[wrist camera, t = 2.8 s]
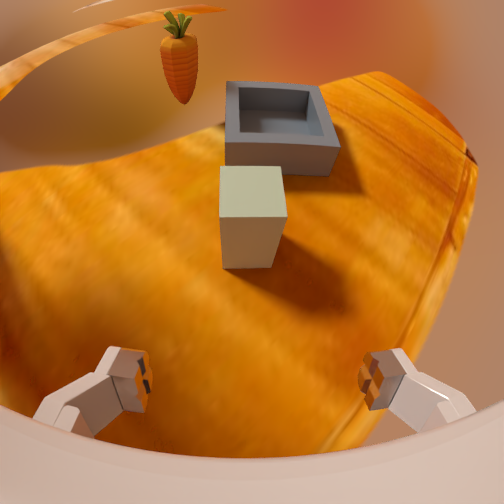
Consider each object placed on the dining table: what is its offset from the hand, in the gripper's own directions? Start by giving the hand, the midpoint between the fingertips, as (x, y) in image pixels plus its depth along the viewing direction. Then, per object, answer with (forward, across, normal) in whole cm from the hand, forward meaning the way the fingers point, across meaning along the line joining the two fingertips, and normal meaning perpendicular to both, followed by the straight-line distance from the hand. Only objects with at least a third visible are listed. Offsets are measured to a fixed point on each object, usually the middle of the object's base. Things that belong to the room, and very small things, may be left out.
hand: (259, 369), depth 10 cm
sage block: (+19, 0, +2) cm, 19 cm away
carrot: (+35, +9, -14) cm, 39 cm away
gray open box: (+30, -3, -9) cm, 31 cm away
